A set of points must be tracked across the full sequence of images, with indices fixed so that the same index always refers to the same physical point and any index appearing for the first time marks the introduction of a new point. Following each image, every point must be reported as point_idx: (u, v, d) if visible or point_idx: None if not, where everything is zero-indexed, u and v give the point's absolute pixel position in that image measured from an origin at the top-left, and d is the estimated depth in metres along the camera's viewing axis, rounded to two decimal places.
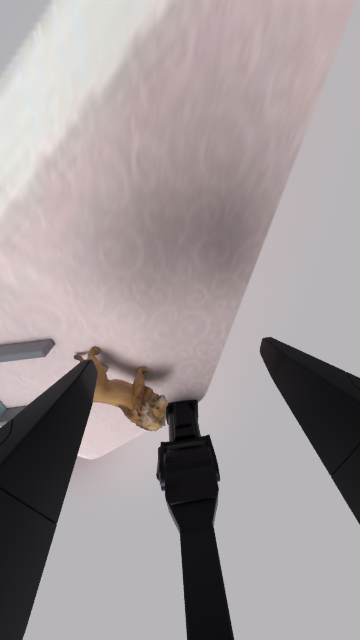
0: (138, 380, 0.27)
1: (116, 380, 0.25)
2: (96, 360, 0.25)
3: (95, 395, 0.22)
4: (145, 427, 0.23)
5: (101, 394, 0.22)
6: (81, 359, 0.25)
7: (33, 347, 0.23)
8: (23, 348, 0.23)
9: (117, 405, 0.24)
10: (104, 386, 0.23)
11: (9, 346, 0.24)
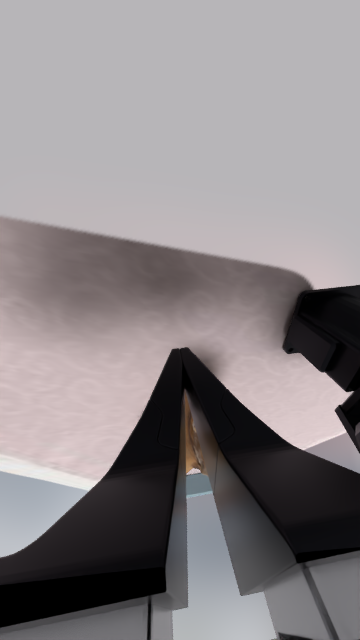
0: None
1: None
2: None
3: None
4: None
5: None
6: None
7: None
8: None
9: None
10: None
11: None
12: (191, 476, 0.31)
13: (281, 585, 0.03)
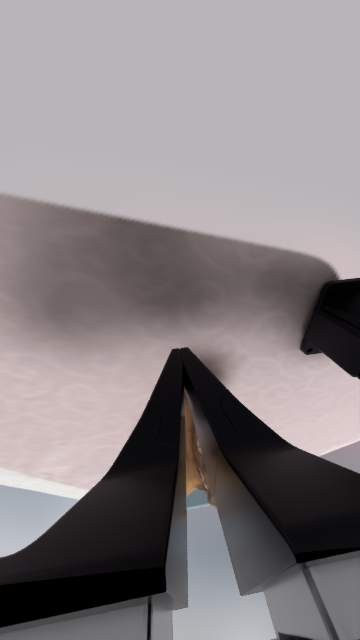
0: None
1: None
2: None
3: None
4: None
5: None
6: None
7: None
8: None
9: None
10: None
11: None
12: None
13: (281, 585, 0.03)
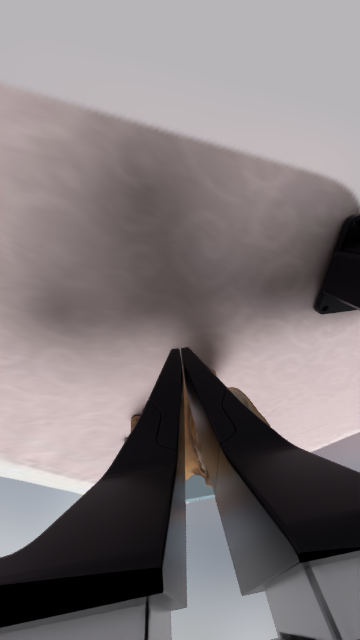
0: None
1: None
2: None
3: None
4: None
5: None
6: None
7: None
8: None
9: None
10: None
11: None
12: (195, 476, 0.27)
13: (283, 585, 0.03)
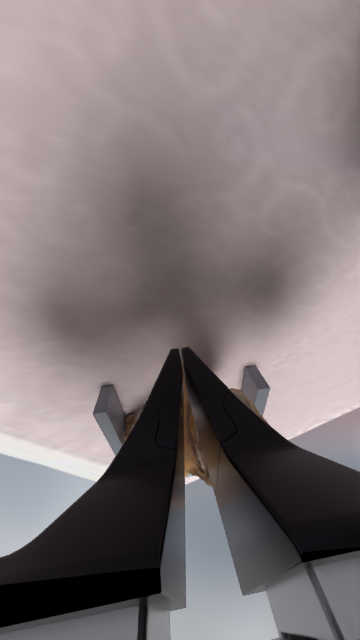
0: None
1: None
2: None
3: None
4: None
5: None
6: None
7: None
8: None
9: None
10: None
11: None
12: None
13: (284, 584, 0.03)
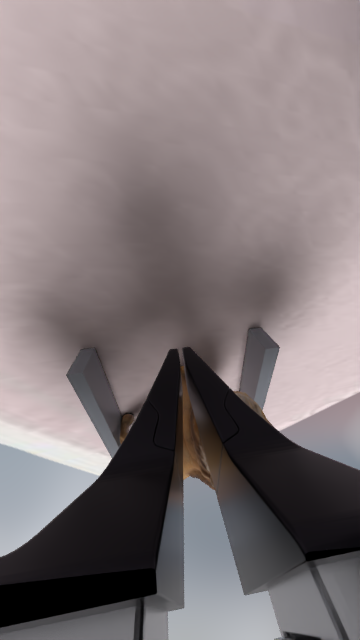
0: None
1: None
2: None
3: None
4: None
5: None
6: None
7: None
8: None
9: None
10: None
11: None
12: None
13: (287, 584, 0.03)
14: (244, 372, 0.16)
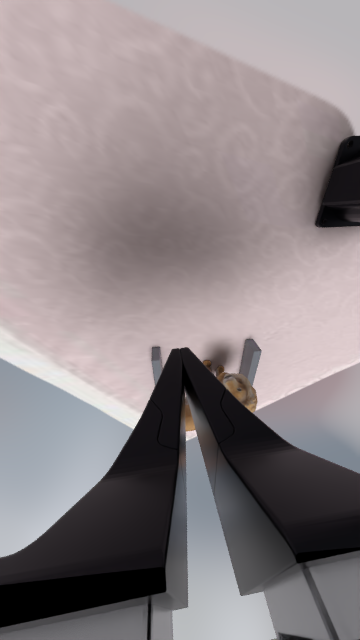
0: None
1: None
2: None
3: (187, 427, 0.23)
4: None
5: (189, 423, 0.23)
6: None
7: None
8: None
9: None
10: (185, 415, 0.23)
11: None
12: None
13: (281, 585, 0.03)
14: (242, 364, 0.27)
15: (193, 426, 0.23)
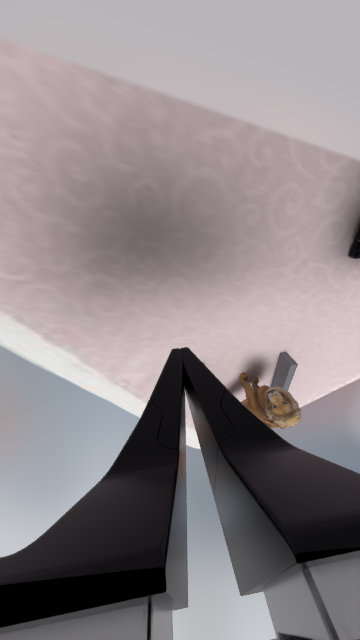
0: (246, 392, 0.27)
1: None
2: None
3: None
4: (287, 427, 0.21)
5: None
6: None
7: None
8: None
9: None
10: None
11: None
12: None
13: (281, 585, 0.03)
14: (275, 375, 0.29)
15: None
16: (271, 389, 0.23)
